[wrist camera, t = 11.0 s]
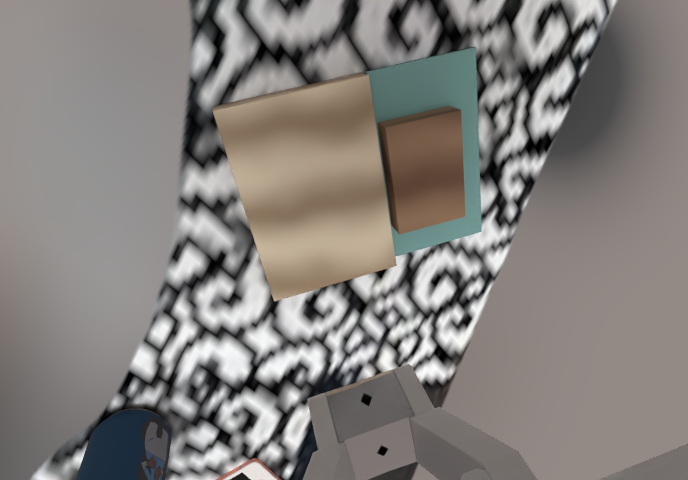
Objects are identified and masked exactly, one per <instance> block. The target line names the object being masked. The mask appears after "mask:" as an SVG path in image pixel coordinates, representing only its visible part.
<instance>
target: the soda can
mask: <svg viewBox="0 0 688 480" xmlns="http://www.w3.org/2000/svg"><path fill="white" fill-rule="evenodd" d="M170 444H171V434H170V431H169V428H168V427H167V425H166V424H165V422H164V421H163V419H162V418H161V417H160V416H159V415H158V414H156V413H155V412H153V411H150V410H147V409H142V408H130V409H125V410H121V411H118V412H116V413H114V414H113V415H111V416H110V417H108V418H107V419H106V420H104V421H103V422H102V423H100V424H99V425H98V426H97V427H96V428H95V430H94V431H93V433H92V434H91V437H90V440H89V443H88V445H87V448H86V451H85V454H84V457H83V460H82V463H81V466H80V469H79V472H78V475H77V478H76V480H165V478H166V472H167V465H168V458H169V451H170Z"/></svg>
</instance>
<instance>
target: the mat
mask: <svg viewBox="0 0 688 480" xmlns="http://www.w3.org/2000/svg"><path fill="white" fill-rule="evenodd" d="M365 74H367V75H369V80H370V87H371V94H372V101H373V108H374V115H375V122H376V128H377V135H378V142H379V149H380V156H381V163H382V170H383V177H384V183H385V190H386V197H387V204H388V196H387V189H386V181H385V174H384V166H383V159H382V151H381V144H380V137H379V129H378V122H383V121H387V120H391V119H395V118H399V117H404V116H408V115H412V114H416V113H421V112H425V111H429V110H433V109H438V108H442V107H446V106H451V107H454V108H457V109H460V110H461V117H462V142H463V166H464V191H465V215H466V217H462V218H458V219H455V220H451V221H447V222H444V223H440V224H436V225H433V226H429V227H425V228H422V229H418V230H414V231H411V232H407V233H403V234H400V235H399V234H398V232H397V231H396V230H395V229H394V228H393V226H392V225H391V219H390V225H391V231H392V238H393V245H394V252H395V256H399V255H402V254H406V253H409V252H413V251H416V250H419V249H423V248H426V247H430V246H433V245H437V244H440V243H444V242H447V241H451V240H454V239H457V238H461V237H464V236H468V235H471V234H475V233H478V232H481V201H480V169H479V137H478V105H477V73H476V47H471V48H467V49H462V50H458V51H454V52H449V53H445V54H440V55H436V56H432V57H427V58H423V59H419V60H414V61H410V62H406V63H401V64H397V65H393V66H388V67H384V68H379V69H375V70H371V71H366V72H365ZM388 211H389V204H388ZM389 218H390V211H389Z"/></svg>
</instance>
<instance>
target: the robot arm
mask: <svg viewBox="0 0 688 480" xmlns="http://www.w3.org/2000/svg"><path fill="white" fill-rule="evenodd" d="M308 405H309V410H310V415H311V419H312V424H313V428H314V433H315V437H316V442H317V446H318V451H316V452H313V454H312V457H311V460H310V462H309V465H308V468H307V470H306V473H305V475H304V478H303V480H368V479H370V478H373V477H375V476H378V475H380V474H382V473H385V472H387V471H390V470H393V469H396V468H399V467H402V466H405V465H408V464H411V463H414V462H417V461H418V463H419V464H420V465H421V466H422V467H424V468H425V469H426V470H427V471H429V472H430V473H431V474H432V475H434V476H435V477H436V478H437V479H439V480H537V478H536V477H535V475H534V474H533V472H532V471H531V469H530V468H529V467H528V465H527V463H526V462H525V461H524V459H523V458H522V456H521V455H520V453H519V452H518V451H517V450H515V449H513V448H511V447H510V446H508V445H506V444H504V443H502V442H501V441H499V440H497V439H495V438H494V437H492V436H490V435H488V434H486V433H485V432H483V431H481V430H479V429H478V428H476V427H474V426H472V425H470V424H469V423H467V422H465V421H463V420H462V419H460V418H458V417H456V416H454V415H453V414H451V413H449V412H447V411H446V410H444V409H442V408H440V407H438V408H435V409H434V407H433V405H432V403H431V401H430V400H429V398H428V396H427V394H426V392H425V390H424V389H423V387H422V385H421V383H420V381H419V379H418V378H417V376H416V374H415V372H414V370H413V368H412V366H410V365H409V364H407V365H405V366H402V367H399V368H396V369H393V370H390V371H387V372H384V373H381V374H378V375H376V376H373V377H370V378H367V379H364V380H362V381H359V382H357V383H354V384H351V385H348V386H345V387H341V388H338V389H335V390H332V391H329V392H326V393H323V394H320V395H317V396H314V397H311V398H308ZM599 480H688V444H686V445H683V446H681V447H679V448H676V449H673V450H671V451H669V452H666V453H664V454H661V455H659V456H656V457H654V458H651V459H649V460H646V461H644V462H641V463H639V464H636V465H634V466H632V467H629V468H626V469H624V470H621V471H619V472H616V473H614V474H611V475H609V476H607V477H604V478H601V479H599Z"/></svg>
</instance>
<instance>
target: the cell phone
mask: <svg viewBox="0 0 688 480" xmlns="http://www.w3.org/2000/svg"><path fill="white" fill-rule="evenodd" d="M216 480H281V479H280V478H279V477H278V476H277V475H275V474H274V473H273V472H272V471H271V470H270V469H269V468H268V467H267V466H265V465H264V464H263V463H262V462H261V461H260V460H258V459H256V458H253V459H251V460H249V461H247V462H245V463H244V464H242V465H240V466H239V467H237V468H235V469H233V470H232V471H230V472H228V473H227V474H225V475H223V476H221V477H220V478H218V479H216Z"/></svg>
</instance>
